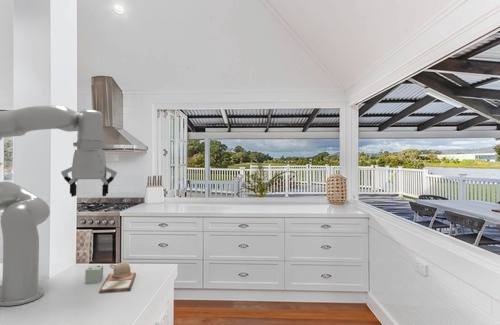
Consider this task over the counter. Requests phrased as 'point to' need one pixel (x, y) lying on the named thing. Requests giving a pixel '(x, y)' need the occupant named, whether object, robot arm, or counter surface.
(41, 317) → the counter surface
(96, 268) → the die
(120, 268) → the decorative ornament
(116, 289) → the brown framed panel
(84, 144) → the robot arm
